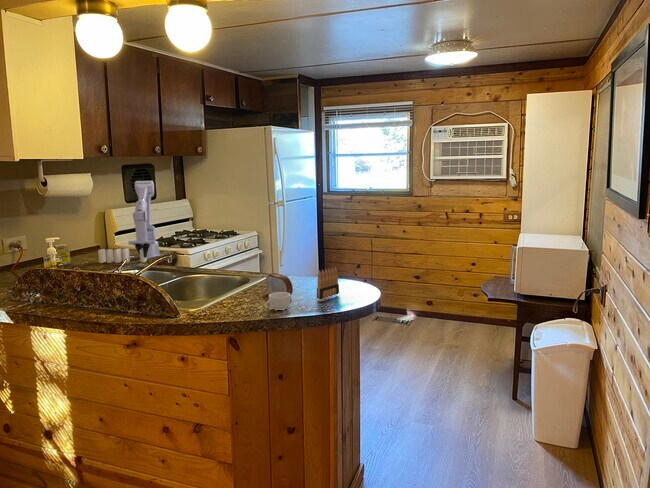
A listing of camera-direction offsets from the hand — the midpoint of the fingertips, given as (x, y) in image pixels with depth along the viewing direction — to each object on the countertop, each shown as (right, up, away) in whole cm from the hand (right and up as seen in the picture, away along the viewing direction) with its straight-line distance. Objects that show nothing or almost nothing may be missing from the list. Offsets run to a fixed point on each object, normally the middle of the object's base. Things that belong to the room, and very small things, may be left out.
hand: (143, 257), depth 269 cm
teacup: (+83, -16, -95) cm, 127 cm away
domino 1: (-23, -3, +2) cm, 23 cm away
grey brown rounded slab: (+82, -13, -75) cm, 112 cm away
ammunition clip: (+101, -14, -82) cm, 131 cm away
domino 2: (-19, -3, +1) cm, 19 cm away
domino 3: (-14, -3, +1) cm, 14 cm away
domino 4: (-10, -3, +1) cm, 10 cm away
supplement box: (-42, -4, -5) cm, 42 cm away
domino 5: (0, -2, 0) cm, 2 cm away
